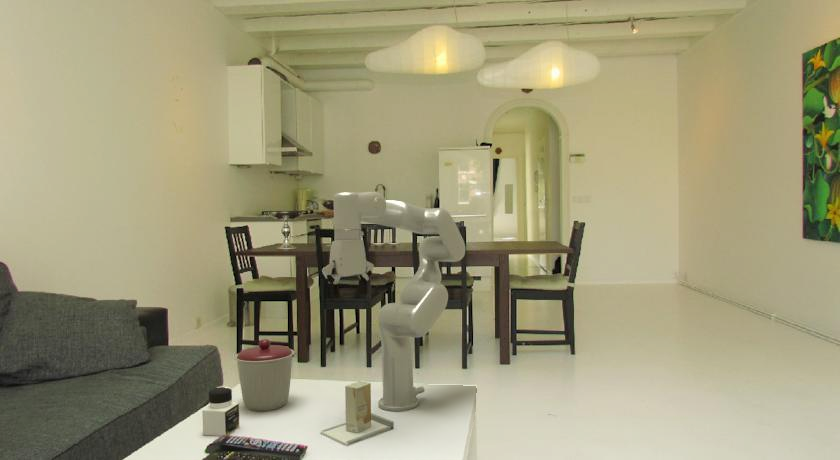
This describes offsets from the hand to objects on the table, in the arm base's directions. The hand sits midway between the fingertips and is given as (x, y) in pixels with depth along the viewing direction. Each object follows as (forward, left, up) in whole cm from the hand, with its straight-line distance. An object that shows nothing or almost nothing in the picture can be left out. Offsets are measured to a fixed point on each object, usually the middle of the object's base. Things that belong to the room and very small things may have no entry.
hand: (349, 296), depth 159 cm
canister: (+10, -32, -36) cm, 50 cm away
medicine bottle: (+29, -22, -36) cm, 52 cm away
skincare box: (+2, +6, -36) cm, 36 cm away
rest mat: (+3, +6, -36) cm, 37 cm away
